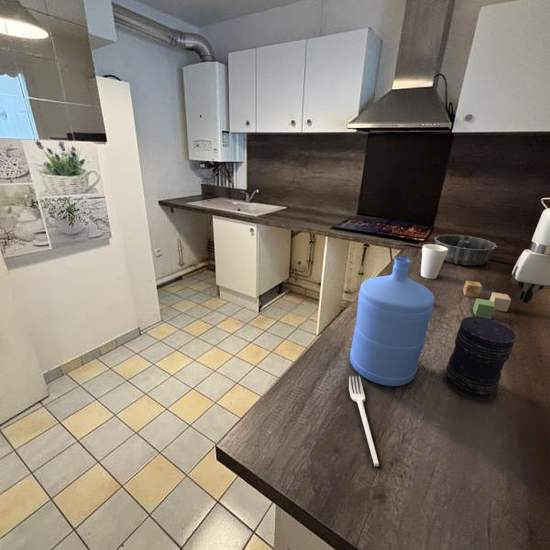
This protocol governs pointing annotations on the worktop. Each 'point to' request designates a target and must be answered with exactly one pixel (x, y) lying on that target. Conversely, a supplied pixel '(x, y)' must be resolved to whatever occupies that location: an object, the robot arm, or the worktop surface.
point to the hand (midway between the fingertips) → (523, 301)
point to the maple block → (472, 289)
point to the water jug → (391, 326)
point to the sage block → (483, 308)
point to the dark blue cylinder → (479, 357)
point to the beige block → (500, 301)
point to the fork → (363, 414)
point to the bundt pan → (466, 249)
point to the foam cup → (432, 260)
